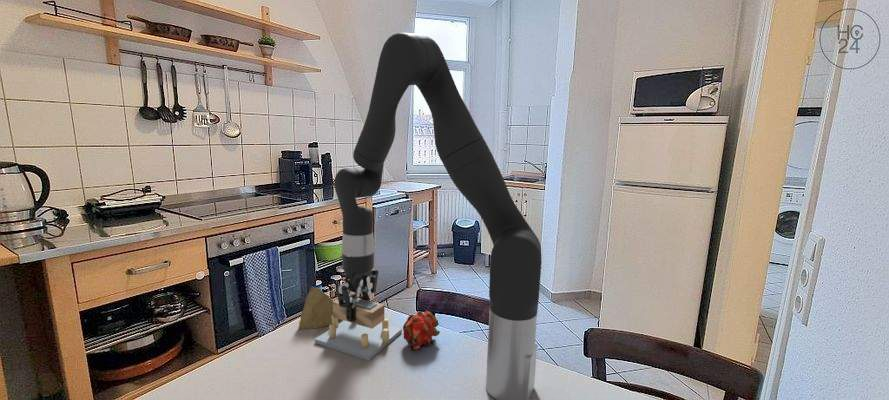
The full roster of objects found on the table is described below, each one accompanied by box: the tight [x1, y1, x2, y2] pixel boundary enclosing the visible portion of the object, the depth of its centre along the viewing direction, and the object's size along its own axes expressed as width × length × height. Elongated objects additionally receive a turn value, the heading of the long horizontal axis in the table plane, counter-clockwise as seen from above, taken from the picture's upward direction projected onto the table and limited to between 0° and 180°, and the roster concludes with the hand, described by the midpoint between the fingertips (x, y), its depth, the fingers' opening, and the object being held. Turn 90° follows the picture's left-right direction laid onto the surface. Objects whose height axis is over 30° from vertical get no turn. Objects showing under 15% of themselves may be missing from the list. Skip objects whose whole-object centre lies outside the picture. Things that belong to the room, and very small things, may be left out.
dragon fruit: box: [402, 310, 441, 351], centre depth 93 cm, size 8×8×12 cm
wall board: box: [314, 315, 403, 361], centre depth 96 cm, size 17×14×4 cm
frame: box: [333, 297, 385, 329], centre depth 95 cm, size 12×5×4 cm, turn 64°
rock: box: [297, 286, 344, 330], centre depth 101 cm, size 11×9×10 cm
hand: (358, 315), depth 95 cm, fingers closed on frame, 5 cm apart
